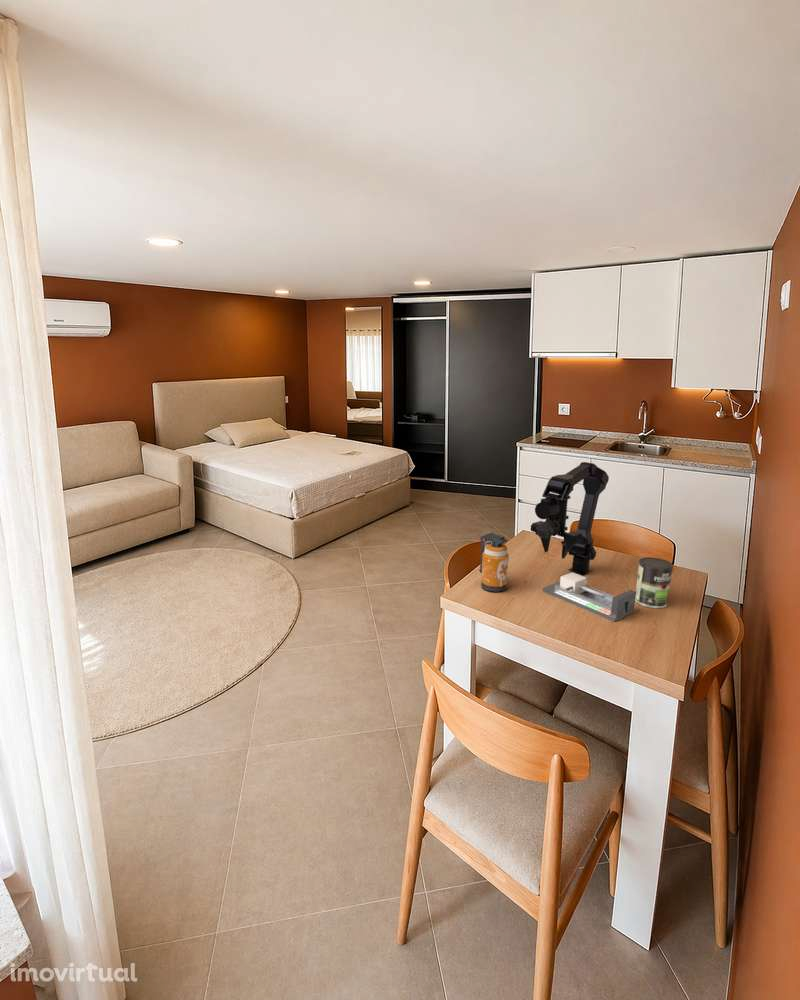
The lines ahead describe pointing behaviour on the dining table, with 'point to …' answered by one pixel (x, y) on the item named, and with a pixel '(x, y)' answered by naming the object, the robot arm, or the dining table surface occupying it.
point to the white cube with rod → (577, 584)
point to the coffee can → (653, 582)
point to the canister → (494, 562)
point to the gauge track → (597, 601)
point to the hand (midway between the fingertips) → (554, 555)
